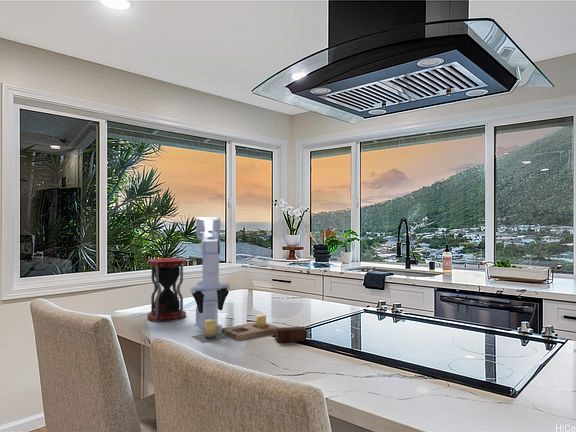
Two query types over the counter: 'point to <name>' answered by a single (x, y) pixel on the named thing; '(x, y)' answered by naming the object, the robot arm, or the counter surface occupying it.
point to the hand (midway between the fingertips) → (210, 311)
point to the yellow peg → (210, 329)
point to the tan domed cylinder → (260, 321)
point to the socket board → (248, 331)
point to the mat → (203, 340)
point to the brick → (290, 334)
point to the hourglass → (166, 289)
